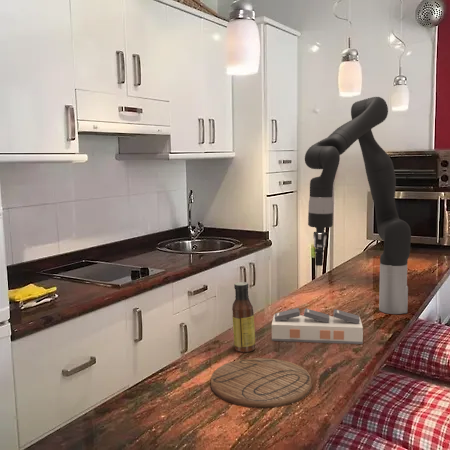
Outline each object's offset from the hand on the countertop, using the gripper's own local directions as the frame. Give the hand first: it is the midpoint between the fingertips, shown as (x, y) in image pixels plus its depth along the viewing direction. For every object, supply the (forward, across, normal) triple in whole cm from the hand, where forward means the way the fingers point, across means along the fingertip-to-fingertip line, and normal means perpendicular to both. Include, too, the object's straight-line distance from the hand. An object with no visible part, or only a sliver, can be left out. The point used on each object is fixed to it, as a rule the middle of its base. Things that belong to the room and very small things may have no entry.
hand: (319, 262), depth 163 cm
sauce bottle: (+23, -18, +21) cm, 36 cm away
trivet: (+24, -40, +13) cm, 48 cm away
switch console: (+22, -4, 0) cm, 23 cm away
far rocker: (+17, -5, +9) cm, 20 cm away
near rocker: (+17, -4, -8) cm, 19 cm away
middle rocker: (+17, -4, +1) cm, 17 cm away
